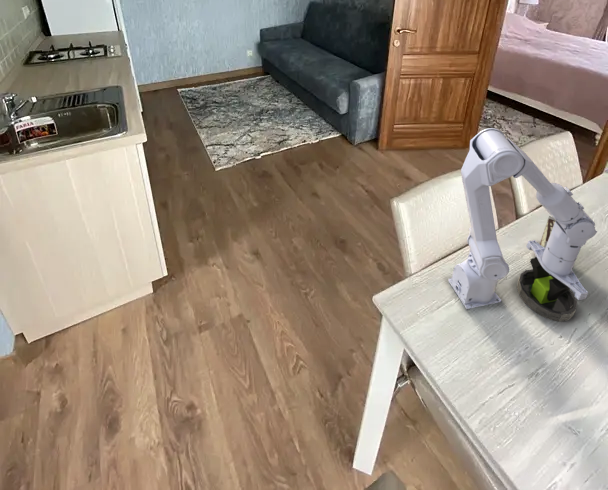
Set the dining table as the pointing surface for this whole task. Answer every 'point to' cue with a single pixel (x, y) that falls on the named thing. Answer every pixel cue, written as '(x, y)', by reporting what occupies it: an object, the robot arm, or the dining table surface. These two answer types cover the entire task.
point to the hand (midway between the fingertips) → (545, 292)
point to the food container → (547, 231)
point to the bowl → (550, 310)
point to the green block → (541, 289)
